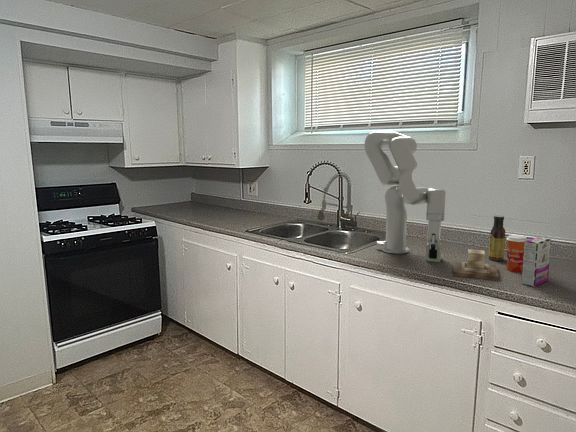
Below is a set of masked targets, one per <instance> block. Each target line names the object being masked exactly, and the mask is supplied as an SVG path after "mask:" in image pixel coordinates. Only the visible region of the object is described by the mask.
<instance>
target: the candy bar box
mask: <svg viewBox="0 0 576 432" xmlns="http://www.w3.org/2000/svg"><path fill="white" fill-rule="evenodd" d="M551 245H552V238H550V237H543V236H536V237H532V238H530V239H527V240H526V241H524V253H523V269H522V272H521V284H522V285H525V286H530V287H537V286H540V285H541V284H544V283H546V282H548V281H549V273H550V259H551V248H552V247H551Z"/></svg>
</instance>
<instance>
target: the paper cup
mask: <svg viewBox="0 0 576 432" xmlns="http://www.w3.org/2000/svg"><path fill="white" fill-rule="evenodd" d="M505 240H506V270H507V271H509V272H514V273H522V269H523V253H524V241H526V240H528V237H527V236H525V235H518V234H509V235H508V236H507V237H505Z"/></svg>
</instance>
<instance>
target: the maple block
mask: <svg viewBox="0 0 576 432" xmlns="http://www.w3.org/2000/svg"><path fill="white" fill-rule="evenodd" d="M485 253H486V252H485V250H482V249H469V248H468V249H467V260H466V261H467V268H471V269H482V270H484V264H485V259H486V254H485Z"/></svg>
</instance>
